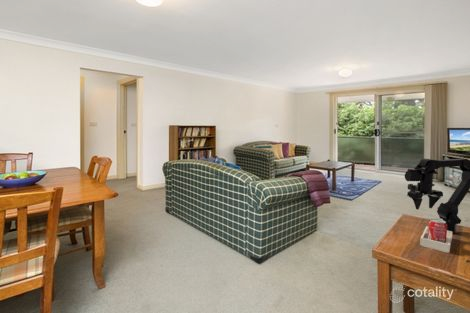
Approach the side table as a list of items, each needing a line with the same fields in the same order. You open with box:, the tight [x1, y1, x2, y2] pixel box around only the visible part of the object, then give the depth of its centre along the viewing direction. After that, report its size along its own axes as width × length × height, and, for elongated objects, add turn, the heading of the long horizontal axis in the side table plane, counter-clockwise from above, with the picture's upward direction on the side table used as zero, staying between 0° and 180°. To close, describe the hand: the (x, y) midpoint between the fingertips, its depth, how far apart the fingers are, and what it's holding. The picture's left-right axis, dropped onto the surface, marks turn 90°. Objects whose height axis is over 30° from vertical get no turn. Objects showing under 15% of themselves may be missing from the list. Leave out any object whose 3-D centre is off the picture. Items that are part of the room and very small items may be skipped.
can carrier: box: [419, 225, 453, 254], centre depth 129 cm, size 21×11×4 cm, turn 137°
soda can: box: [428, 218, 447, 243], centre depth 125 cm, size 7×7×12 cm
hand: (423, 208), depth 142 cm, fingers open, 9 cm apart
